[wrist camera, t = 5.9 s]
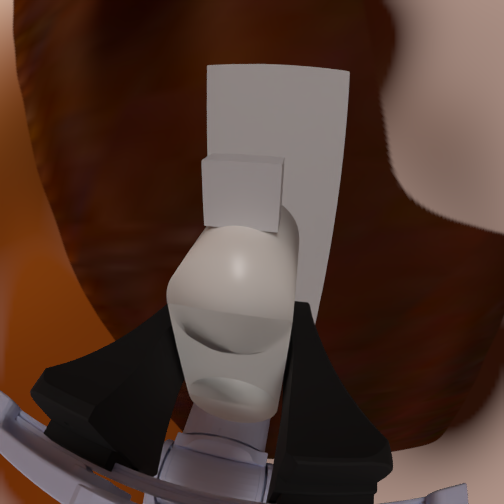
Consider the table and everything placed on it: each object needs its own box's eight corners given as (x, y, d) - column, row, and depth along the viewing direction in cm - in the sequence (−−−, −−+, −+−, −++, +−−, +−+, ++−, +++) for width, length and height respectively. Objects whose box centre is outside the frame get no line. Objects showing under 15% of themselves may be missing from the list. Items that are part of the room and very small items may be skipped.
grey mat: (311, 336, 24) (311, 341, 23) (218, 324, 25) (216, 328, 24) (348, 72, 14) (349, 71, 13) (210, 66, 15) (207, 65, 14)
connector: (284, 354, 15) (273, 427, 11) (218, 345, 16) (194, 413, 12) (308, 149, 10) (309, 186, 6) (208, 143, 10) (149, 177, 6)
